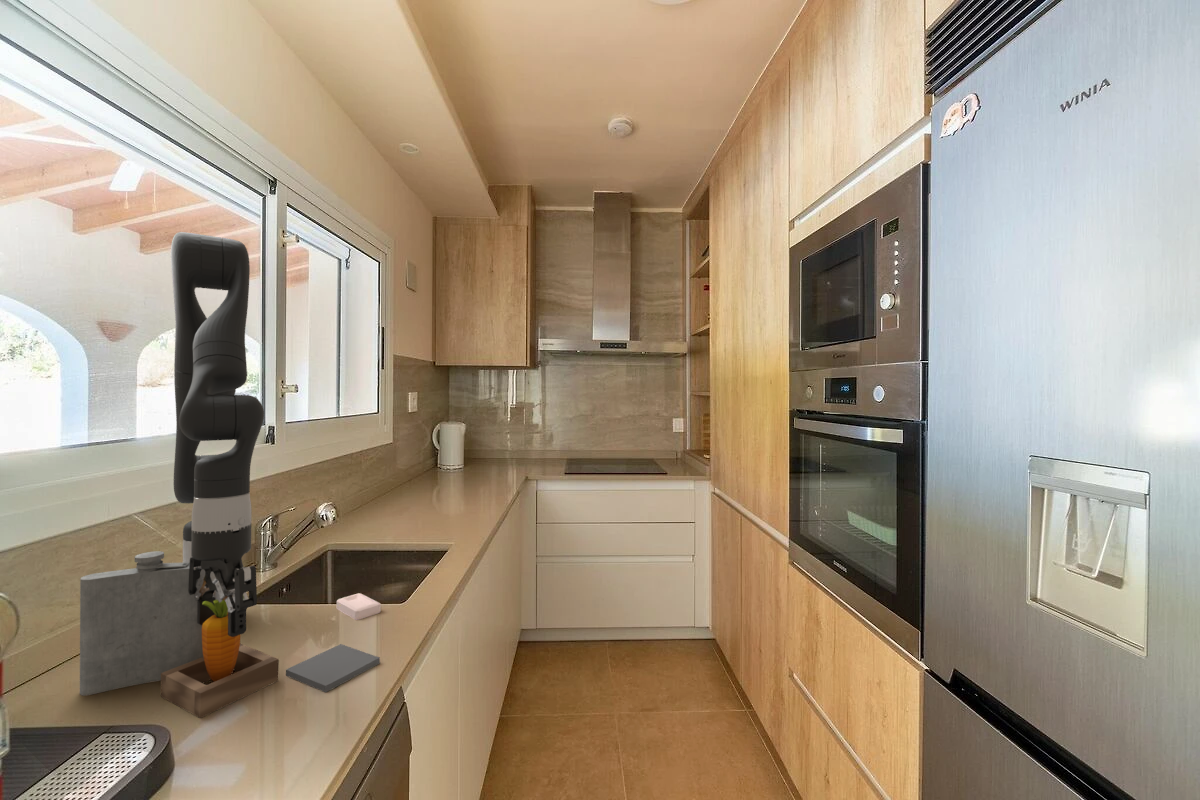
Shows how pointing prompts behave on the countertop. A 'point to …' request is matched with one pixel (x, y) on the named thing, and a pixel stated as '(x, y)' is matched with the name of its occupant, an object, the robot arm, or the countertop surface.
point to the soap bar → (358, 606)
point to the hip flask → (136, 624)
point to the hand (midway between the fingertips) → (221, 628)
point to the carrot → (219, 642)
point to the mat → (332, 667)
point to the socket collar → (218, 682)
